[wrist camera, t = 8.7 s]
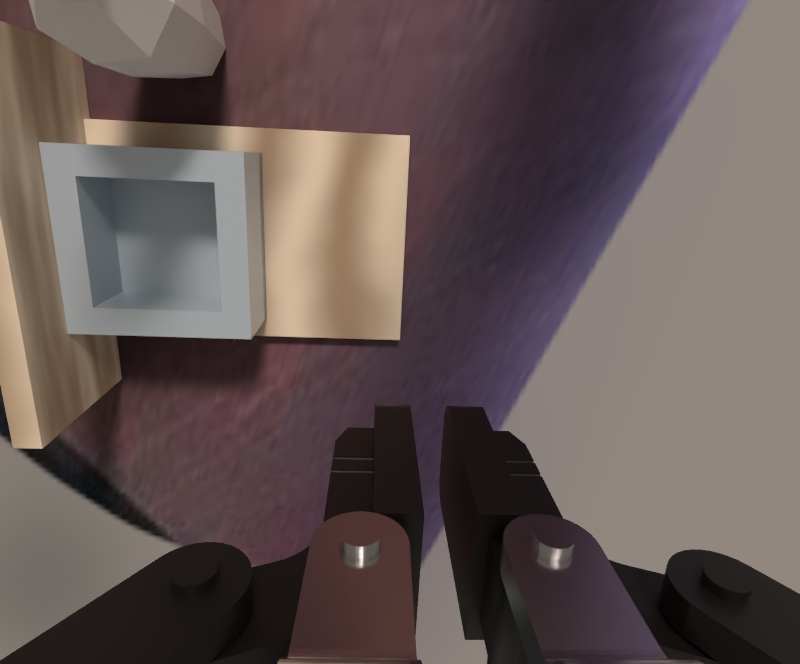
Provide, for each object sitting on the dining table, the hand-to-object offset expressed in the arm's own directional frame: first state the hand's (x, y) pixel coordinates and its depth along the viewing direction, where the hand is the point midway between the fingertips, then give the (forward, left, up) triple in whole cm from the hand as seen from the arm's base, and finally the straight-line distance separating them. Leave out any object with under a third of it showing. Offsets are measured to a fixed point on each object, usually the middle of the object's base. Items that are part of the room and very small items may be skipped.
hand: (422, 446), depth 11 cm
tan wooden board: (+10, 0, -28) cm, 30 cm away
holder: (+14, 0, -27) cm, 30 cm away
